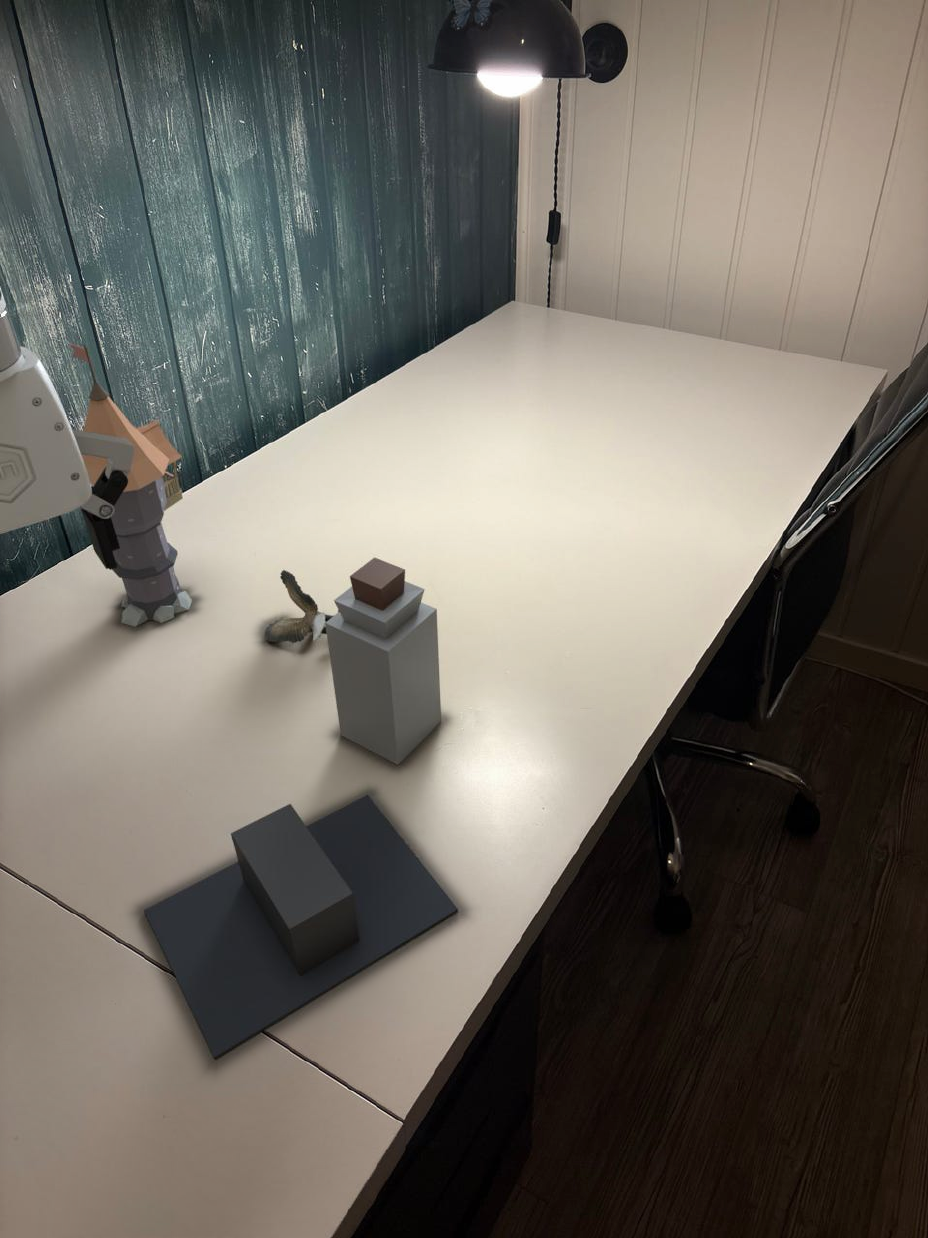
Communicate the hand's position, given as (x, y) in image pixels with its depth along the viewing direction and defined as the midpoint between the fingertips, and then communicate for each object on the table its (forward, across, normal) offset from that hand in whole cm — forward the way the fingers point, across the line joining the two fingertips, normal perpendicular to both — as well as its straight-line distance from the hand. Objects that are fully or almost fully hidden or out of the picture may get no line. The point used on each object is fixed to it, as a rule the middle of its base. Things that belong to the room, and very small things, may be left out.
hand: (37, 583), depth 64 cm
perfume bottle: (+24, +24, -5) cm, 35 cm away
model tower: (+24, +13, +27) cm, 39 cm away
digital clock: (+24, +8, -18) cm, 31 cm away
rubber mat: (+24, +8, -18) cm, 31 cm away
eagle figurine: (+24, +24, +12) cm, 36 cm away
